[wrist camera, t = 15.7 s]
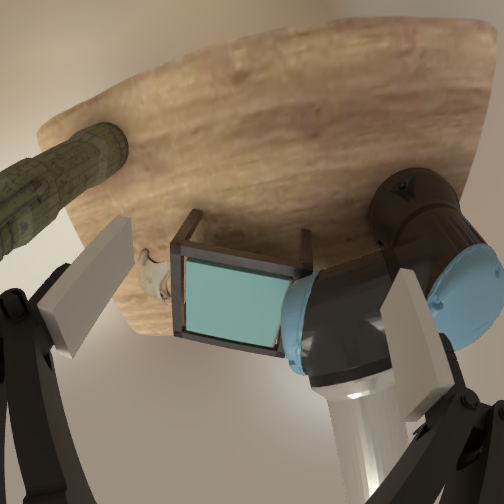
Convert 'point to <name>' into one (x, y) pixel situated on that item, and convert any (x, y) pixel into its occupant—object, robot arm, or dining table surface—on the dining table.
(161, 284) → the fossil
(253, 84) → the dining table surface
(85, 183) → the thermos
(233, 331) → the trapdoor
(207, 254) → the frame
